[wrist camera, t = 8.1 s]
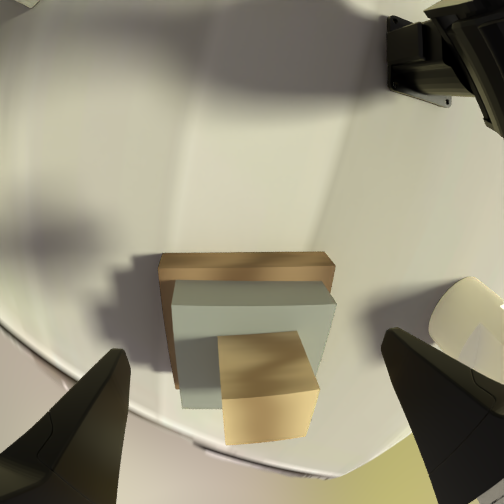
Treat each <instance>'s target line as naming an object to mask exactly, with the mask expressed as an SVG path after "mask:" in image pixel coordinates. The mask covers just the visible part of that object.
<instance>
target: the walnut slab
mask: <svg viewBox="0 0 504 504" xmlns="http://www.w3.org/2000/svg"><path fill="white" fill-rule="evenodd" d="M334 272H335V264H334V263H333V262H332V261H331V259H330V258H329V257H328V256H327V254H326V253H325V252H236V253H163V254H162V257H161V260H160V263H159V266H158V275H159V284H160V293H161V301H162V309H163V316H164V324H165V330H166V337H167V343H168V350H169V356H170V361H171V367H172V372H173V378H174V383H175V388H176V389H180V388H179V380H178V372H177V363H176V354H175V344H174V333H173V321H172V307H171V304H172V298H173V293H174V287H175V282H176V280H213V281H322V282H323V284H324V285H325V287H326V288H327V290H328V291H329V293H330V292H331V287H332V282H333V277H334Z"/></svg>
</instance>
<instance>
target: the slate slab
mask: <svg viewBox="0 0 504 504" xmlns="http://www.w3.org/2000/svg"><path fill="white" fill-rule="evenodd" d="M336 306H337V303H336V302H335V300H334V299H333V297H332V296H331V294H330V293H329V291H328V290H327V288H326V287H325V285H324V284H323V282H322V281H213V280H176V282H175V287H174V293H173V298H172V304H171V307H172V321H173V333H174V344H175V354H176V363H177V372H178V380H179V388H180V396H181V403H182V409H222V396H221V383H220V369H219V354H218V338H217V336H229V335H247V334H263V333H276V332H288V331H297V332H298V334H299V337H300V339H301V342H302V344H303V347H304V349H305V352H306V355H307V357H308V360H309V362H310V365H311V367H312V370H313V372H314V375H315V377H316V374H317V371H318V368H319V364H320V361H321V358H322V355H323V352H324V348H325V345H326V342H327V338H328V335H329V331H330V328H331V324H332V320H333V317H334V313H335V309H336Z"/></svg>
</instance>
